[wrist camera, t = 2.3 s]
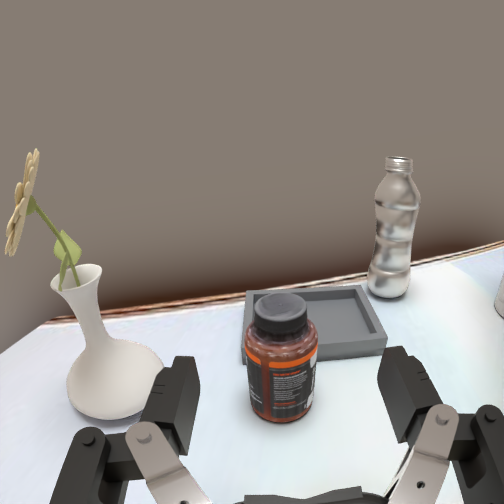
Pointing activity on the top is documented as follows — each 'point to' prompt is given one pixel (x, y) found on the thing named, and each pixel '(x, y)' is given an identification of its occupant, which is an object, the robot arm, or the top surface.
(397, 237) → the plastic bottle
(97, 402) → the flower in vase
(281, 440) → the top surface
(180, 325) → the top surface
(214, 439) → the top surface
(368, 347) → the gray tray
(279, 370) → the supplement bottle
